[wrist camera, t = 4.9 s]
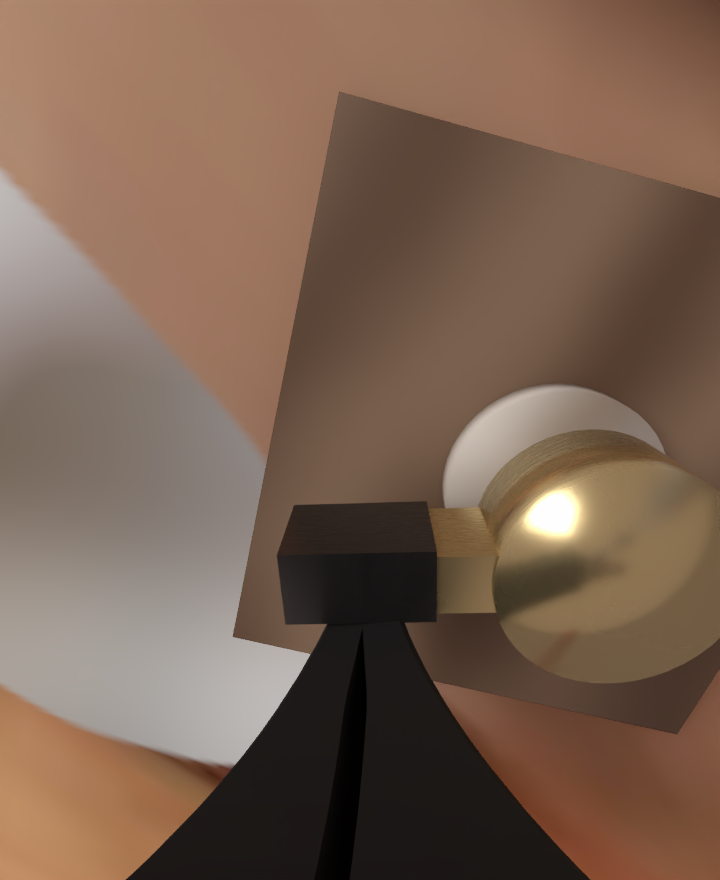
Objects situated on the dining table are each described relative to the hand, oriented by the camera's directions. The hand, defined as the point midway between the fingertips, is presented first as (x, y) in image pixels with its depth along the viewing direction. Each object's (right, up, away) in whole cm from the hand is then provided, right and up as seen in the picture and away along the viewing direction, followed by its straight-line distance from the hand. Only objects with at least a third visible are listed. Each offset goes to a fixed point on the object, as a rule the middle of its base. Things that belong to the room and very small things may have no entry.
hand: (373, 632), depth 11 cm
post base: (+4, +3, +2) cm, 6 cm away
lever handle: (+4, +2, 0) cm, 5 cm away
